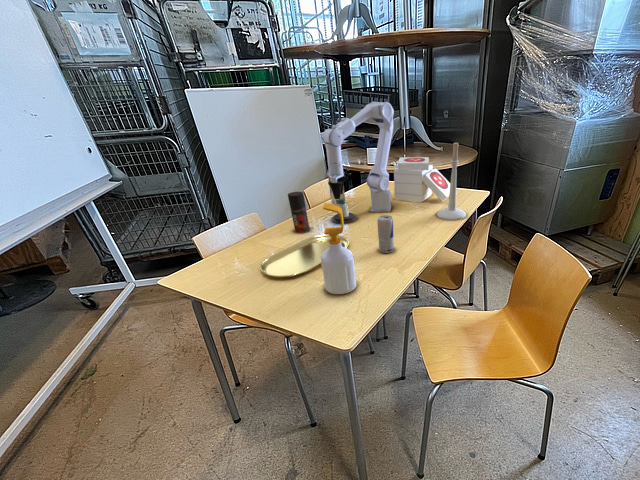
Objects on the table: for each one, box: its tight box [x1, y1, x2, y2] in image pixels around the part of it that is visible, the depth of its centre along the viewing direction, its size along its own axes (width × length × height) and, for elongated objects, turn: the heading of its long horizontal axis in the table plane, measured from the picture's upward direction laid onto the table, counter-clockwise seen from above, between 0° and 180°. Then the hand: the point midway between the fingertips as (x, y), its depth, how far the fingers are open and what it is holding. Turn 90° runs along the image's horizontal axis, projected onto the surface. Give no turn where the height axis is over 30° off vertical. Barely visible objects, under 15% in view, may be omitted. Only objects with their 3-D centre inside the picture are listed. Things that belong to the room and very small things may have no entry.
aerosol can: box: [326, 168, 346, 206], centre depth 160 cm, size 7×7×20 cm
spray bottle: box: [333, 198, 355, 221], centre depth 146 cm, size 9×9×8 cm
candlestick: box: [436, 142, 467, 221], centre depth 142 cm, size 13×13×30 cm
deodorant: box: [287, 191, 311, 234], centre depth 134 cm, size 6×6×15 cm
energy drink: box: [376, 214, 395, 254], centre depth 117 cm, size 5×5×12 cm
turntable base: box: [331, 213, 358, 225], centre depth 148 cm, size 11×11×1 cm
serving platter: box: [259, 234, 350, 279], centre depth 116 cm, size 19×35×2 cm, turn 148°
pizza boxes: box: [393, 156, 451, 203], centre depth 168 cm, size 19×30×18 cm, turn 65°
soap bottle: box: [321, 202, 357, 295], centre depth 92 cm, size 9×9×25 cm
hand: (338, 196), depth 142 cm, fingers open, 7 cm apart
